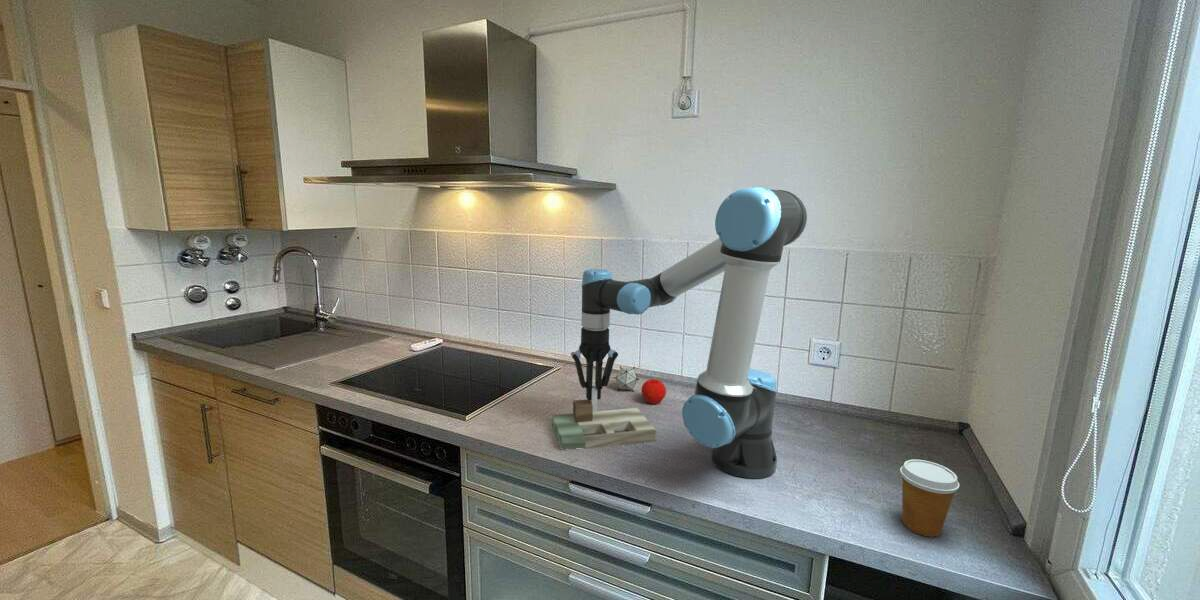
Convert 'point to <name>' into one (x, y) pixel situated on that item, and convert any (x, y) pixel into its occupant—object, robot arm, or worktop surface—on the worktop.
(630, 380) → the game die
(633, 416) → the shape sorter board
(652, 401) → the apple
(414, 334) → the worktop surface
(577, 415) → the block
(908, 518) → the disposable coffee cup
